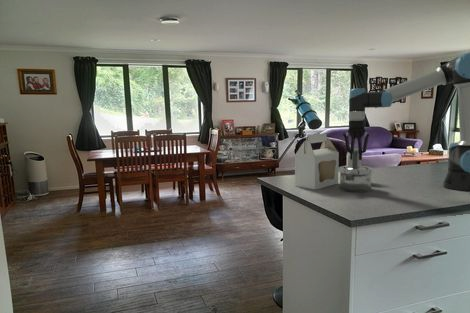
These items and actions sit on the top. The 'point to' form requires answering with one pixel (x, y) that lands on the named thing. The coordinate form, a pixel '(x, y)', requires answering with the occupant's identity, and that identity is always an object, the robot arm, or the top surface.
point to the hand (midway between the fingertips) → (355, 166)
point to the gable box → (316, 163)
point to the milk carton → (349, 161)
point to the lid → (355, 162)
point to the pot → (355, 179)
